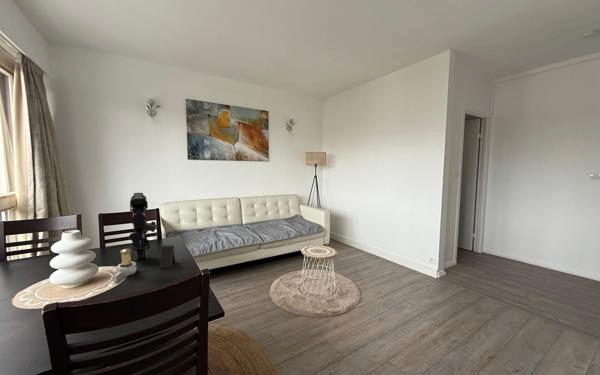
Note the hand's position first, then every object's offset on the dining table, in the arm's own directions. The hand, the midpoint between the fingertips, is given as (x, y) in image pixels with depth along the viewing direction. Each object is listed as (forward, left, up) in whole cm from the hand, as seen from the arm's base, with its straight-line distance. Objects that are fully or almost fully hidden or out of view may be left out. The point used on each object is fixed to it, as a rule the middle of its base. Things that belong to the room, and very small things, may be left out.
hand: (140, 246), depth 143 cm
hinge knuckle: (+5, -6, -13) cm, 15 cm away
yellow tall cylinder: (+5, -6, -13) cm, 15 cm away
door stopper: (+1, +14, -13) cm, 19 cm away
